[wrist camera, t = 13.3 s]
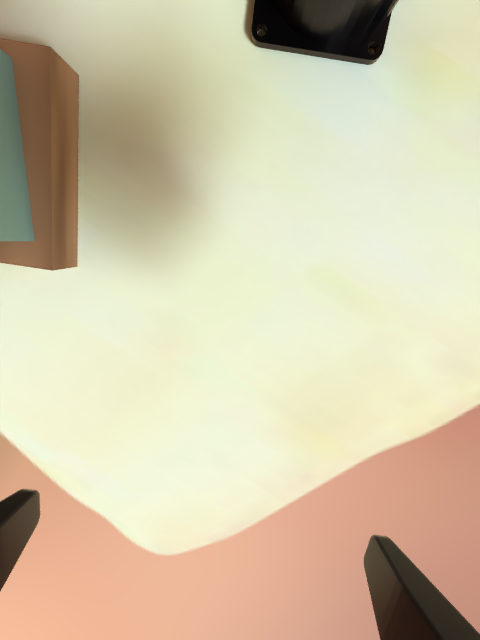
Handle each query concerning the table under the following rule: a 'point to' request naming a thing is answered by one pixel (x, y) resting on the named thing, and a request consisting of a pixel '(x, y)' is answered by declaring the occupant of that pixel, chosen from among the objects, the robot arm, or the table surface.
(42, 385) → the table surface
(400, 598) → the robot arm
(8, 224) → the tower top
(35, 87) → the tower base
